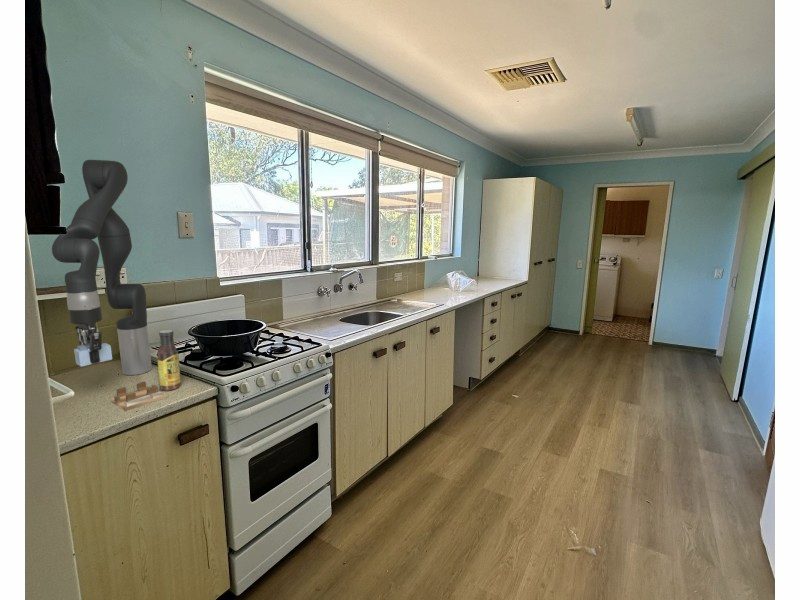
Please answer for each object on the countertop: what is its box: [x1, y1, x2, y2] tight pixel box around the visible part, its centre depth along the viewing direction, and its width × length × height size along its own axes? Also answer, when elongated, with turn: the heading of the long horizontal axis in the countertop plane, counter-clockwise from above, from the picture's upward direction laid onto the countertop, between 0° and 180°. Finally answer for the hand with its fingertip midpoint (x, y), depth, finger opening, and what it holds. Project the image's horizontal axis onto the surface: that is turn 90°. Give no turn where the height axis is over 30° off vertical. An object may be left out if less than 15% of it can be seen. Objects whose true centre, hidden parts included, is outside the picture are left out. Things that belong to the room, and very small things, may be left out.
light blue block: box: [73, 342, 113, 367], centre depth 118 cm, size 4×8×6 cm, turn 145°
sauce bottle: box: [156, 329, 181, 392], centre depth 130 cm, size 6×6×20 cm
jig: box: [109, 381, 167, 412], centre depth 123 cm, size 11×12×4 cm
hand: (92, 360), depth 119 cm, fingers closed on light blue block, 4 cm apart
